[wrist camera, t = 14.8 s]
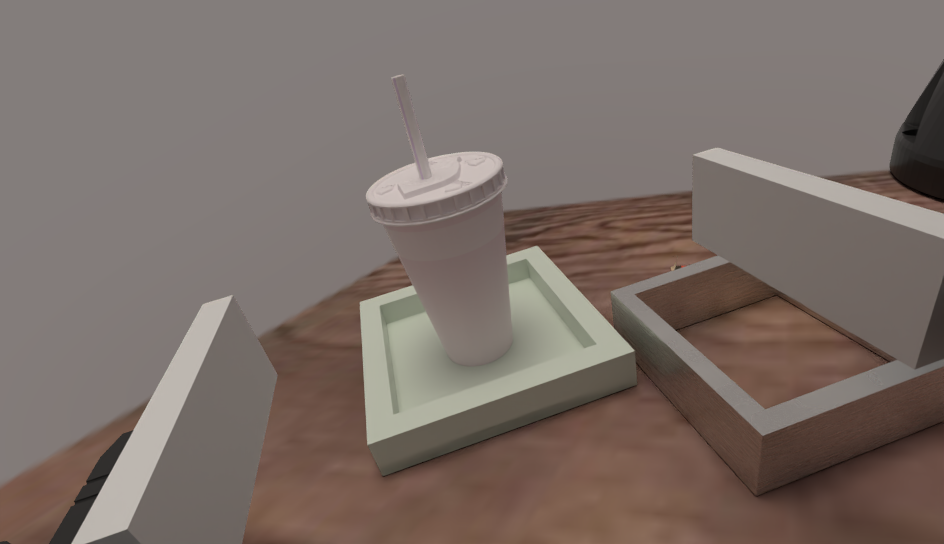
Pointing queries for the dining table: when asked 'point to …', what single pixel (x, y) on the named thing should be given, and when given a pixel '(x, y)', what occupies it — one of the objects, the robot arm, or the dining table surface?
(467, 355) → the smoothie
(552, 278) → the tray
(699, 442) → the dining table surface
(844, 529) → the dining table surface
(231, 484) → the robot arm
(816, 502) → the dining table surface
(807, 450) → the square frame
